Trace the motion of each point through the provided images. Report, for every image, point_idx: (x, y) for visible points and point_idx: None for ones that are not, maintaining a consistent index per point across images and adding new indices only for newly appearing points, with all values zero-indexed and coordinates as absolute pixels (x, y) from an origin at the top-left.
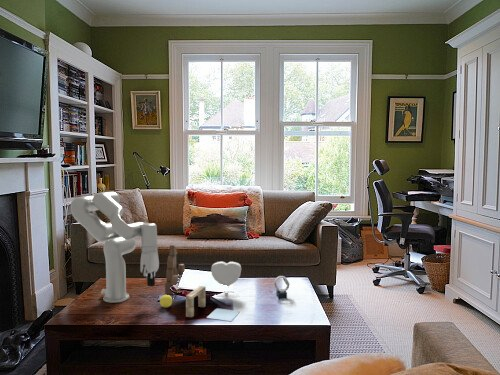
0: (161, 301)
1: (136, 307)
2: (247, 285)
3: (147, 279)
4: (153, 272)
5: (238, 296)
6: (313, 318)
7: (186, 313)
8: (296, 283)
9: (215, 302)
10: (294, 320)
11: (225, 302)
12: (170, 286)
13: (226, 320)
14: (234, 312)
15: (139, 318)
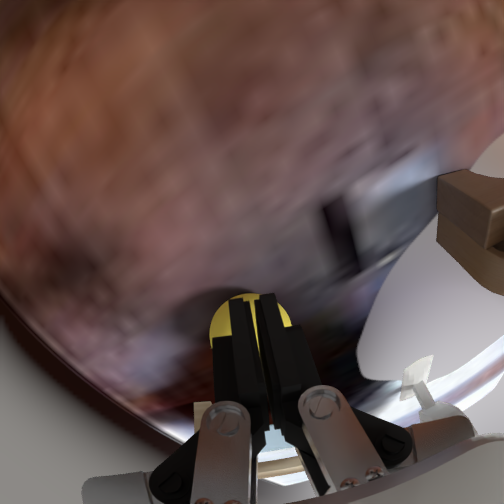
0: (210, 337)
1: (144, 146)
2: (484, 360)
3: (237, 372)
4: (315, 492)
5: (409, 397)
6: (302, 478)
7: (194, 414)
8: (470, 402)
9: (357, 394)
10: (285, 476)
11: (361, 406)
12: (469, 236)
13: None
14: (286, 444)
15: (50, 284)
